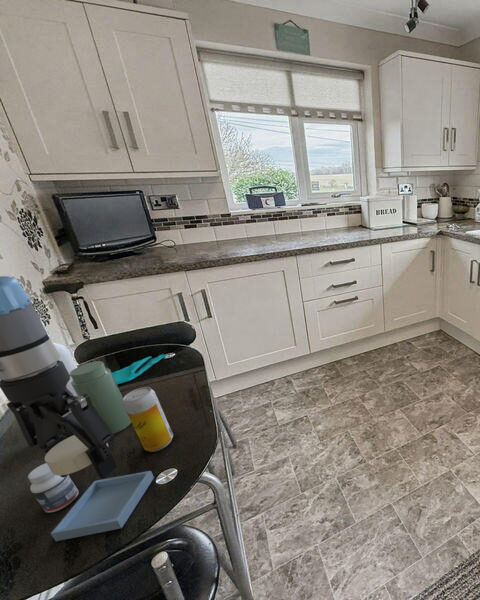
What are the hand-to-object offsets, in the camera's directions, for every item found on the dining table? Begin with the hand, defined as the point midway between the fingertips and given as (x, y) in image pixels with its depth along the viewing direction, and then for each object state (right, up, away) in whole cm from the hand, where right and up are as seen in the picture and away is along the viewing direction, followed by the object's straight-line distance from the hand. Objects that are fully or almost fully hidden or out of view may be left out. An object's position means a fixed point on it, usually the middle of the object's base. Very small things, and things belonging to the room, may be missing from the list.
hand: (89, 471), depth 62 cm
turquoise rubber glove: (-37, +6, +52) cm, 64 cm away
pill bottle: (-11, -9, +6) cm, 15 cm away
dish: (+1, -9, +3) cm, 10 cm away
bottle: (-33, -1, +33) cm, 47 cm away
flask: (-18, -2, +27) cm, 32 cm away
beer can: (-1, -3, +19) cm, 19 cm away
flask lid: (-1, +6, -2) cm, 6 cm away
